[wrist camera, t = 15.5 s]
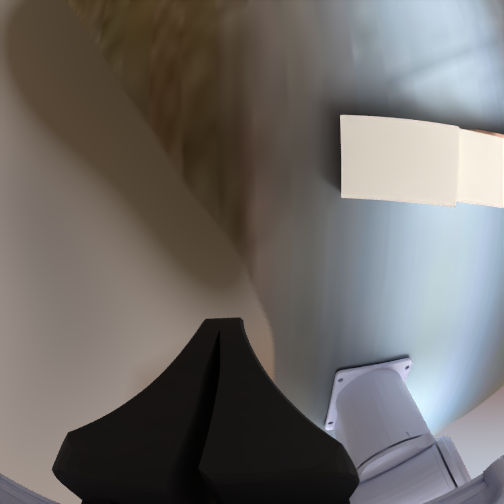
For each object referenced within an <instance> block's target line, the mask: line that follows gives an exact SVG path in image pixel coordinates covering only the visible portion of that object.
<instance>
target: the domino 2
mask: <svg viewBox="0 0 504 504" xmlns="http://www.w3.org/2000/svg"><path fill="white" fill-rule="evenodd" d="M456 202H463V203H471V204H478V205H486V206H492V207H499V208H504V138H501V137H497V136H492V135H488V134H484V133H479V132H474V131H469V130H464V129H459V167H458V185H457V198H456Z"/></svg>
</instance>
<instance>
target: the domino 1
mask: <svg viewBox="0 0 504 504" xmlns="http://www.w3.org/2000/svg"><path fill="white" fill-rule="evenodd" d="M340 126H341V198H356V199H372V200H386V201H399V202H411V203H421V204H432V205H441V206H450V207H456V198H457V185H458V167H459V126H453V125H447V124H441V123H434V122H427V121H419V120H410V119H401V118H390V117H376V116H358V115H340Z"/></svg>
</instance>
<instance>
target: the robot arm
mask: <svg viewBox="0 0 504 504" xmlns="http://www.w3.org/2000/svg"><path fill="white" fill-rule="evenodd" d="M412 362H413V361H412V359H411V358H405V359H401V360H396V361H391V362H386V363H381V364H376V365H370V366H364V367H358V368H352V369H346V370H340V371H338V372H337V373H336V374H335V379H334V384H333V390H332V395H331V400H330V404H329V409H328V414H327V418H326V423H325V429H326V430H333V429H334V431H335V434H336V438H337V440H336V439H334V438H333V437H331V436H330V435H328V434H327V433H326V432H324V431H323V430H321V429H320V428H319V427H317V426H316V425H315V424H314V423H313V422H311V421H310V420H309V419H308V418H307V417H305V416H304V415H303V414H302V413H301V412H300V411H299V410H298V409H297V408H296V407H295V406H294V405H293V404H292V403H291V402H290V401H289V400H288V399H287V398H286V397H285V396H284V395H283V393H282V392H281V391H280V390H279V389H278V388H277V386H276V385H275V384H274V383H273V381H272V380H271V379H270V377H269V376H268V374H267V373H266V371H265V370H264V368H263V367H262V366H261V364H260V362H259V360H258V359H257V357H256V355H255V353H254V351H253V349H252V347H251V345H250V343H249V340H248V338H247V335H246V333H245V329H244V324H243V320H242V319H241V318H215V319H205V320H204V322H203V323H202V324H201V326H200V327H199V329H198V330H197V332H196V333H195V334H194V336H193V337H192V338H191V340H190V341H189V343H188V344H187V345H186V346H185V348H184V349H183V350H182V351H181V353H180V354H179V355H178V356H177V357H176V359H175V360H174V361H173V362H172V363H171V364H170V365H169V367H167V369H166V370H165V371H164V372H163V373H162V374H161V375H160V376H159V377H158V378H157V379H155V380H154V381H153V382H152V383H151V384H150V385H149V386H148V387H147V388H145V389H144V390H143V391H142V392H140V393H139V394H137V395H136V396H135V397H133V398H132V399H131V400H129V401H128V402H127V403H125V404H124V405H122V406H120V407H119V408H117V409H116V410H114V411H112V412H111V413H109V414H107V415H105V416H103V417H102V418H100V419H98V420H96V421H94V422H92V423H89V424H87V425H85V426H83V427H80V428H78V429H76V430H73V431H71V432H68V434H67V436H66V438H65V439H64V441H63V444H62V446H61V448H60V450H59V453H58V455H57V458H56V460H55V462H54V465H53V468H52V471H53V473H54V475H55V476H56V478H57V479H58V480H59V481H60V482H61V483H62V484H63V485H64V486H66V487H67V488H68V489H69V490H70V491H72V492H73V493H74V494H76V495H77V496H78V497H79V498H80V499H82V503H81V504H504V455H503V456H501V457H500V458H498V459H497V460H496V461H495V462H493V463H492V464H491V465H490V466H489V467H488V468H487V469H486V470H485V471H484V472H483V474H481V475H479V476H478V477H476V478H474V479H472V480H471V478H470V475H469V473H468V471H467V469H466V467H465V465H464V463H463V461H462V459H461V457H460V455H459V453H458V451H457V449H456V447H455V445H454V444H453V442H452V440H451V438H450V437H448V436H445V437H444V436H443V435H441V436H439V437H438V438H436V439H437V441H436V440H435V438H434V437H433V436H432V434H431V432H430V430H429V429H428V427H427V425H426V423H425V421H424V419H423V417H422V415H421V413H420V411H419V409H418V407H417V405H416V404H415V402H414V400H413V398H412V396H411V394H410V392H409V391H408V389H407V387H406V385H405V381H406V379H407V376H408V373H409V371H410V368H411V365H412ZM0 504H59V503H57V502H55V501H52V500H50V499H48V498H46V497H43V496H41V495H39V494H37V493H35V492H33V491H31V490H29V489H27V488H25V487H23V486H22V485H20V484H18V483H16V482H14V481H13V480H11V479H9V478H7V477H6V476H4V475H2V474H1V473H0Z"/></svg>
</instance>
